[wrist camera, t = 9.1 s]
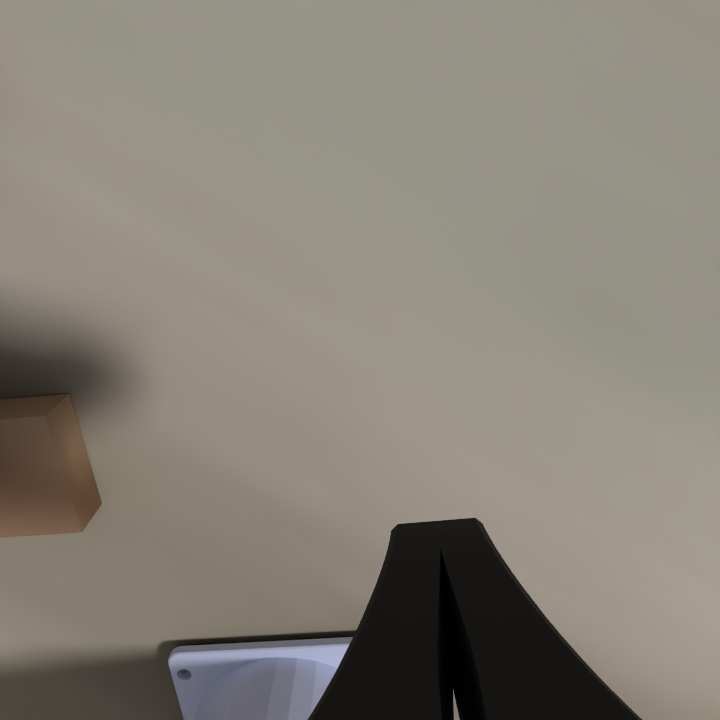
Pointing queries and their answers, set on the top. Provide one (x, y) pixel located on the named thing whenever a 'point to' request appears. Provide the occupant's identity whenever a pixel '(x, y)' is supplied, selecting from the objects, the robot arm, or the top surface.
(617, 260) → the top surface
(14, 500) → the notched board
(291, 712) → the robot arm
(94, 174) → the top surface
